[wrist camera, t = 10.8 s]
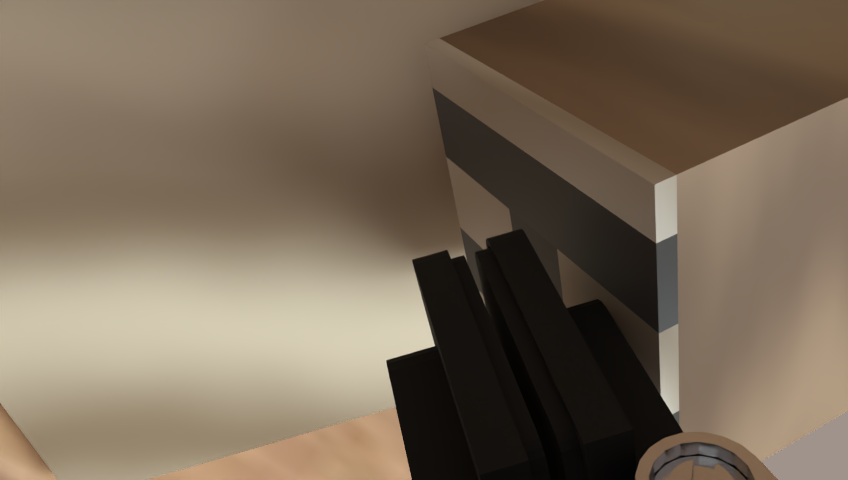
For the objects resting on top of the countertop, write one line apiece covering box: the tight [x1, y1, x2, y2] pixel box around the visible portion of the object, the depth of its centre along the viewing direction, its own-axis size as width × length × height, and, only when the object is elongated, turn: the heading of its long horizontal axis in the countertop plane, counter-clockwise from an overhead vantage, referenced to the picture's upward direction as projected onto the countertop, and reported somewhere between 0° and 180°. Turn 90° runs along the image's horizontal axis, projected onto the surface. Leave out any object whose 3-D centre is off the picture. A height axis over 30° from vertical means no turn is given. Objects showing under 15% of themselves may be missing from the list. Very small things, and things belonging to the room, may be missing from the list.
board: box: [0, 0, 543, 480], centre depth 17 cm, size 14×30×1 cm, turn 102°
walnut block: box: [424, 0, 848, 461], centre depth 13 cm, size 6×6×6 cm
